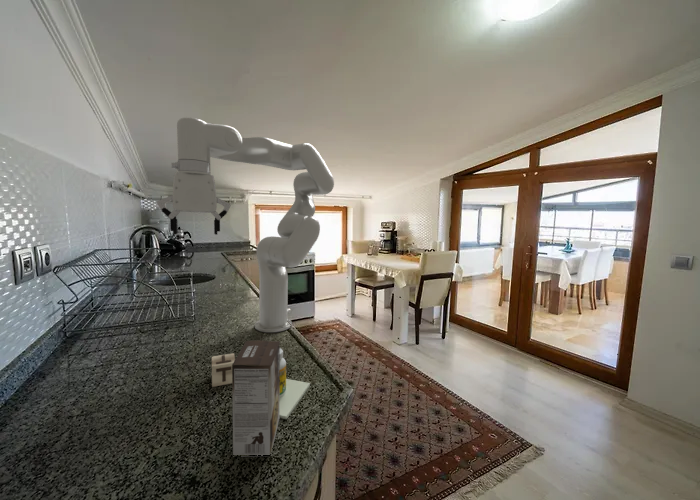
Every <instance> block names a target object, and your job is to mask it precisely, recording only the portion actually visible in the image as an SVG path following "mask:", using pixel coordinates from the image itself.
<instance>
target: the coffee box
mask: <svg viewBox="0 0 700 500" xmlns="http://www.w3.org/2000/svg"><path fill="white" fill-rule="evenodd" d="M280 348H281V345H280V340H273V341H269V340H261V339H260V340H246V341H245V342H244V344H243V346H242V347H241V349H240V351H239V352H238V354H237V356H235V361H234V362H233V364H232V383H231V384H232V385H231V386H232V387H231V389H232V390H231V391H232V394H231V395H232V396H231V397H232V456H233V455H257V456H256V457H259V456H258V455H261V456H260V457H264V456H263V455H270V454H271V455H272V453H273V452H272V451H273V449H274V444H275V443H274V442H275V439H276V434H277V431H278V426H279V422H280V419H281V418H280V416H279V398H280ZM272 448H273V449H272ZM271 452H272V453H271ZM271 455H270V456H271Z"/></svg>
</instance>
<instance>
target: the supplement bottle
mask: <svg viewBox="0 0 700 500" xmlns="http://www.w3.org/2000/svg"><path fill="white" fill-rule="evenodd" d="M286 379H287V361H286V359H285V358H284V351H283V349H282V348H281V347H280V397H282V396H283V395H284V394H285V392H286Z"/></svg>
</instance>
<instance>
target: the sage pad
mask: <svg viewBox="0 0 700 500" xmlns="http://www.w3.org/2000/svg"><path fill="white" fill-rule="evenodd" d="M310 386H311V383H310V382H305V381H300V380H295V379H290V378H286V392H285V394H284V395H283V396H282V397H280V398H279V416H280V418H279V419H283V420H287V419H288V418H289V416H290V415H291V414H292V412H293V411H294V409H295V408H296V407H297V405H298V404H299V402H300V401H301V400H302V398H303V396H304V395H305V393H306V392H307V390H308V389H309V388H310Z"/></svg>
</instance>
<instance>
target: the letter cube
mask: <svg viewBox="0 0 700 500" xmlns="http://www.w3.org/2000/svg"><path fill="white" fill-rule="evenodd" d="M235 359H236V356H235V352H234V353H226V354H221V355H220V354H219V355H213V356H211V387H212V388H215V387H218V386H219V387H221V386H225V385H231V384H232V364H233V362H234V361H235Z"/></svg>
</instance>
